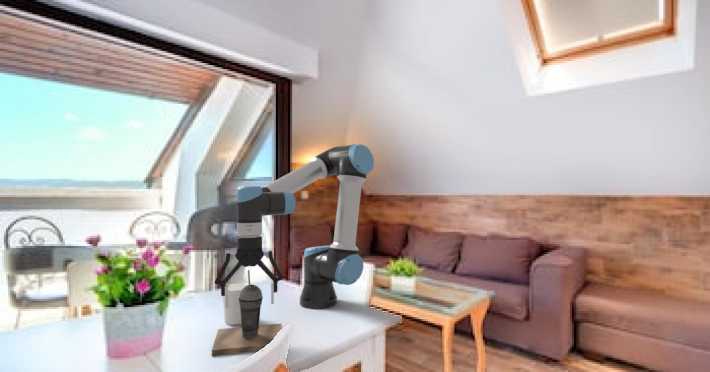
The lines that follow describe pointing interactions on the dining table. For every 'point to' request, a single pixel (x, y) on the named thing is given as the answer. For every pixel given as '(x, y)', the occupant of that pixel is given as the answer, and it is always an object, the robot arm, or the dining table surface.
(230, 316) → the candle holder
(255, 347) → the walnut board
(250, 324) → the beverage cup
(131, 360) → the dining table surface
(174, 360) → the dining table surface
